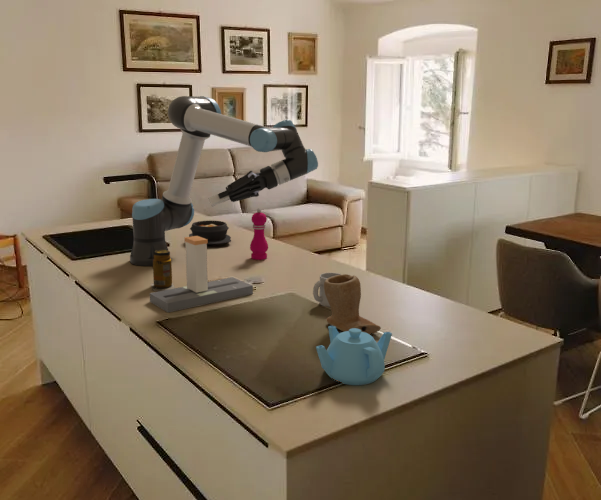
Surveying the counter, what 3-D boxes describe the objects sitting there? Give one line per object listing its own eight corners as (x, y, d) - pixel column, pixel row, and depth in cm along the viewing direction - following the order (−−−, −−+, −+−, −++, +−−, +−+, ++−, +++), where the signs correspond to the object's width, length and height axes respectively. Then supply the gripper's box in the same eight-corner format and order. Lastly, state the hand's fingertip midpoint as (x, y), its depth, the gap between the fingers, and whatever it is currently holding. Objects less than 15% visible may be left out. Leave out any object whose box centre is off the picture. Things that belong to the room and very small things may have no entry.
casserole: (241, 245, 258) (241, 226, 256) (201, 250, 249) (201, 230, 247) (217, 234, 279) (216, 217, 277) (179, 238, 269) (178, 220, 267)
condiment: (172, 282, 203) (170, 248, 200) (175, 289, 195) (174, 254, 193) (150, 284, 201) (148, 249, 198) (153, 291, 193) (151, 255, 190)
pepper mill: (269, 256, 240) (269, 207, 236) (266, 260, 233) (266, 210, 229) (251, 255, 241) (251, 206, 236) (248, 259, 234) (248, 209, 229)
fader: (198, 285, 189) (197, 235, 185) (208, 290, 184) (207, 239, 181) (185, 287, 186) (184, 237, 183) (196, 292, 182) (194, 241, 178)
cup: (347, 305, 183) (348, 277, 180) (319, 310, 178) (319, 281, 176) (334, 298, 189) (335, 271, 187) (307, 303, 184) (307, 275, 182)
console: (232, 285, 201) (232, 276, 200) (252, 293, 192) (252, 285, 191) (149, 301, 183) (149, 292, 182) (167, 312, 174) (167, 303, 173)
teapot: (311, 383, 131) (312, 337, 128) (328, 356, 145) (329, 315, 142) (379, 394, 127) (382, 346, 124) (390, 365, 141) (393, 322, 138)
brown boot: (315, 324, 167) (316, 272, 163) (351, 317, 172) (352, 267, 168) (343, 342, 154) (345, 287, 150) (381, 335, 159) (384, 281, 155)
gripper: (277, 172, 195) (210, 200, 191) (280, 193, 207) (217, 220, 203) (267, 156, 198) (202, 183, 195) (271, 177, 210) (209, 203, 206)
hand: (210, 202), depth 199 cm, fingers closed
